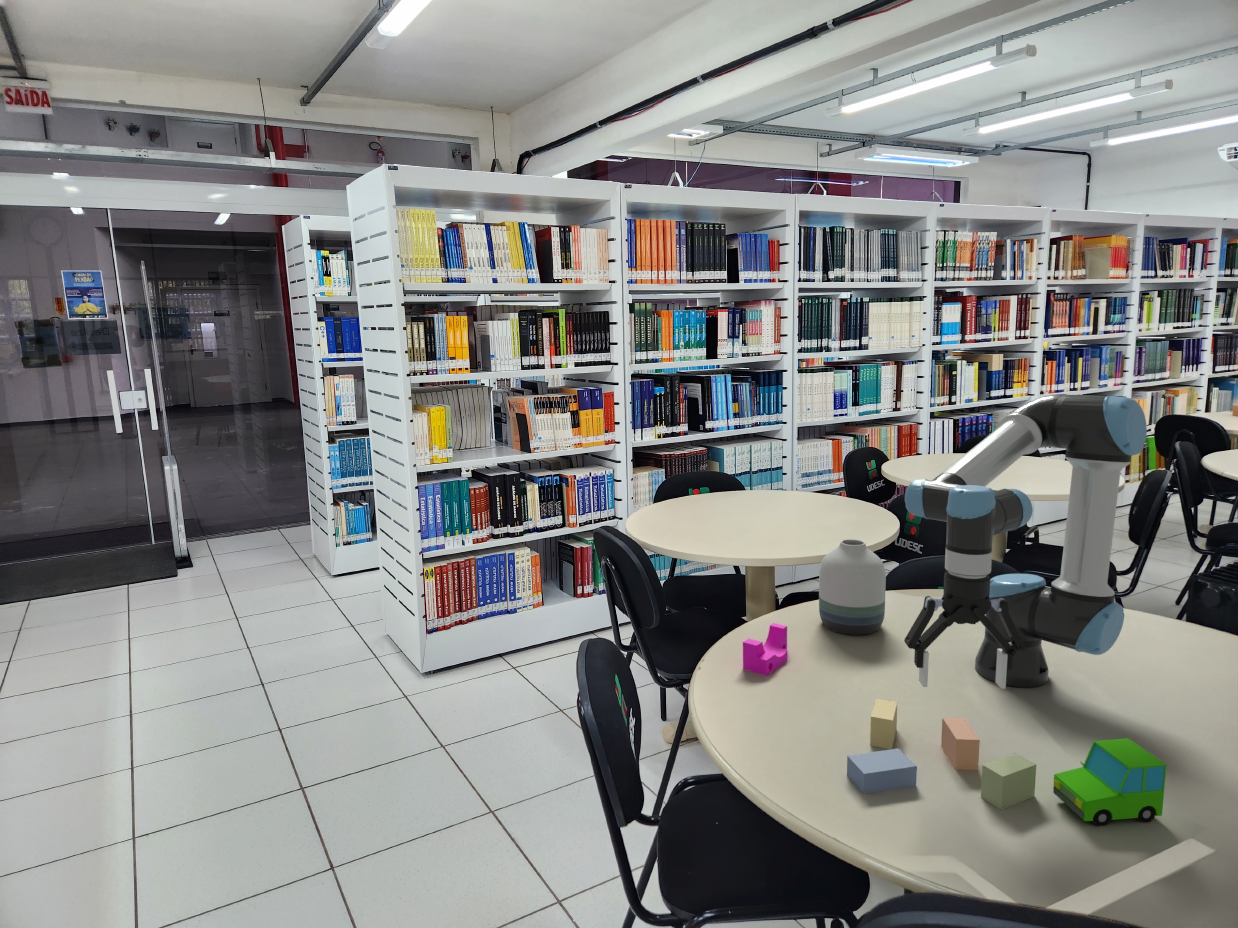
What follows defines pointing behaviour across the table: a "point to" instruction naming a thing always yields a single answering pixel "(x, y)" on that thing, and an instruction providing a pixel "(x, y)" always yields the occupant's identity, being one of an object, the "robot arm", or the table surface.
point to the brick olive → (1008, 780)
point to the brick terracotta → (960, 743)
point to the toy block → (766, 651)
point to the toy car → (1114, 783)
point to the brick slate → (881, 770)
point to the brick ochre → (883, 723)
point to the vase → (852, 589)
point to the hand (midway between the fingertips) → (961, 684)
